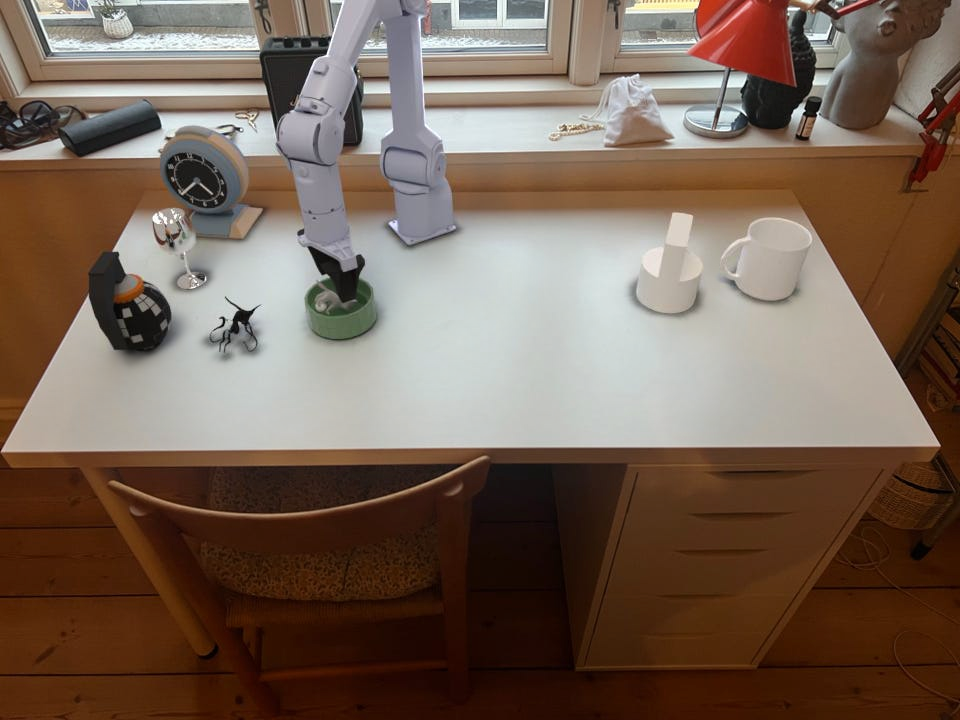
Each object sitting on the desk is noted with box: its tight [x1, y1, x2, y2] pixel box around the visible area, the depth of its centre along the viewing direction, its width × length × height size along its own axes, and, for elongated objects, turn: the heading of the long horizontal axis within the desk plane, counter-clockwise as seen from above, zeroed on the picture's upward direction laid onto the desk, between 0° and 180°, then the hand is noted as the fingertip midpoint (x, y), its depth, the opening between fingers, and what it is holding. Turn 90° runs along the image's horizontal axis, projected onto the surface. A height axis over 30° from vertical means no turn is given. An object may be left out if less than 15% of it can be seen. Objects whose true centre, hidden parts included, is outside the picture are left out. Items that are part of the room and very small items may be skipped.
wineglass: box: [151, 207, 207, 290], centre depth 109 cm, size 6×6×12 cm
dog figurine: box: [315, 279, 357, 315], centre depth 103 cm, size 3×8×6 cm
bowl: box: [303, 276, 378, 340], centre depth 104 cm, size 10×10×4 cm
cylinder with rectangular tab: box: [635, 211, 704, 314], centre depth 105 cm, size 9×9×12 cm
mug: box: [719, 216, 813, 302], centre depth 108 cm, size 12×9×9 cm
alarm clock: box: [159, 124, 264, 240], centre depth 120 cm, size 14×10×18 cm
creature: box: [209, 296, 263, 354], centre depth 101 cm, size 8×5×8 cm
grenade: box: [87, 251, 173, 352], centre depth 96 cm, size 11×10×15 cm
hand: (337, 285), depth 101 cm, fingers open, 7 cm apart
